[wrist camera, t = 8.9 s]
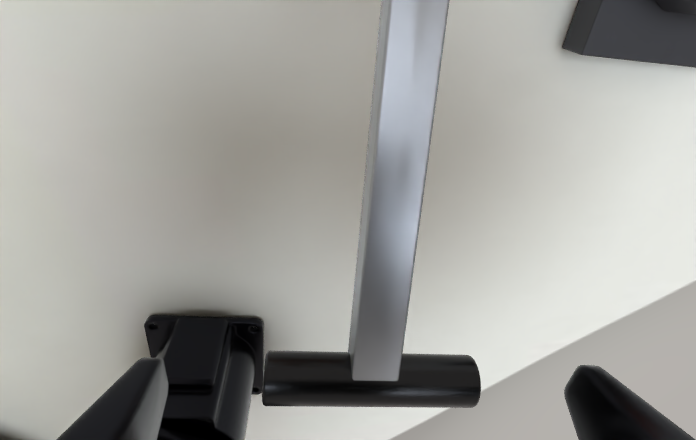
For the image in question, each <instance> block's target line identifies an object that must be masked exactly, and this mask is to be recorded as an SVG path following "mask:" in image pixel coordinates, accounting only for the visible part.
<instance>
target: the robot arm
mask: <svg viewBox="0 0 696 440" xmlns="http://www.w3.org/2000/svg"><path fill="white" fill-rule="evenodd" d="M253 326H254V327H253ZM144 327H145V332H146V336H147V341H148V346H149V350H150V355H151V358H141V359H140V360H138V361H137V362H136V363H135V364H134V365H133V366H132V367H131V368H130V369H129V370H128V371H127V372H126V373H125V374H124V375H122V376H121V377H120V378H119V379H118V380H117V381H116V382H115V383H114V384H113V385H112V386H111V387H110V388H109V389H108V390H107V391H106V392H105V393H104V394H103V395H102V396H101V397H100V398H99V399H98V400H97V401H96V402H95V403H94V404H93V405H92V406H91V407H90V408H89V409H88V410H87V411H85V412H84V413H83V414H82V415H81V416H80V417H79V418H78V419H77V420H76V421H75V422H74V423H73V424H72V425H71V426H70V427H69V428H68V429H67V430H66V431H65V432H64V433H63V434H62V435H61V436H60V437H59V438H58V439H57V440H245V433H246V427H247V420H248V414H249V407H250V401H251V394H254V395H256V394H260V393H262V390H263V376H264V324H263V322H262V321H261V320H260V319H257V318H232V317H199V316H167V315H151V316H149V317H148V318H147V320H146V322H145V324H144ZM564 394H565V399H566V403H567V406H568V409H569V412H570V415H571V417H572V421H573V424H574V427H575V429H576V433H577V436H578V439H579V440H695V439H694V438H692V437H691V436H690V435H689V434H687V433H686V432H685V431H683V430H682V429H681V428H679V427H678V426H677V425H675V424H674V423H673V422H672V421H670V420H669V419H668V418H666V417H665V416H664V415H662V414H661V413H660V412H658V411H657V410H656V409H654V408H653V407H652V406H651V405H649V404H648V403H647V402H645V401H644V400H643V399H642V398H640V397H639V396H638V395H636V394H635V393H634V392H632V391H631V390H630V389H628V388H627V387H626V386H624V385H623V384H622V383H621V382H619V381H618V380H617V379H615V378H614V377H613V376H611V375H610V374H609V373H608V372H606V371H605V370H603V369H602V368H601V367H599V366H595V365H580V366H578V367H577V368H576V370H575V371H574V373H573V375H572V376H571V378H570V380H569V381H568V383H567V385H566V387H565V390H564Z"/></svg>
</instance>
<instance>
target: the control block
mask: <svg viewBox="0 0 696 440" xmlns="http://www.w3.org/2000/svg"><path fill="white" fill-rule="evenodd" d="M563 48H564V49H567V50H570V51H572V52H575V53H578V54H581V55H587V56H596V57H606V58H615V59H624V60H633V61H642V62H651V63H660V64H669V65H679V66H688V67H696V0H579V2H578V5H577V8H576V11H575V14H574V16H573V19H572V22H571V25H570V27H569V30H568V33H567V36H566V39H565V41H564V44H563Z"/></svg>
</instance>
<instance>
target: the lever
mask: <svg viewBox="0 0 696 440" xmlns="http://www.w3.org/2000/svg"><path fill="white" fill-rule="evenodd" d="M448 8H449V0H382V1H381V11H380V22H379V32H378V43H377V53H376V64H375V74H374V85H373V95H372V106H371V116H370V127H369V137H368V148H367V158H366V169H365V179H364V190H363V200H362V211H361V221H360V232H359V242H358V253H357V263H356V274H355V284H354V295H353V305H352V316H351V326H350V337H349V347H348V352H310V351H268V352H267V354H266V359H265V366H264V376H263V390H262V402H263V405H265V406H335V407H463V408H471V407H474V406H476V405H477V403H478V401H479V398H480V392H481V383H480V375H479V370H478V367H477V364H476V362H475V361H474V359H473V358H472V357H471V356H469V355H443V354H402V352H403V344H404V337H405V329H406V322H407V315H408V307H409V300H410V292H411V285H412V277H413V270H414V262H415V255H416V247H417V240H418V232H419V225H420V217H421V210H422V202H423V195H424V187H425V180H426V172H427V165H428V157H429V150H430V142H431V135H432V127H433V120H434V112H435V105H436V97H437V90H438V83H439V75H440V68H441V60H442V53H443V45H444V38H445V30H446V23H447V15H448Z"/></svg>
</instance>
